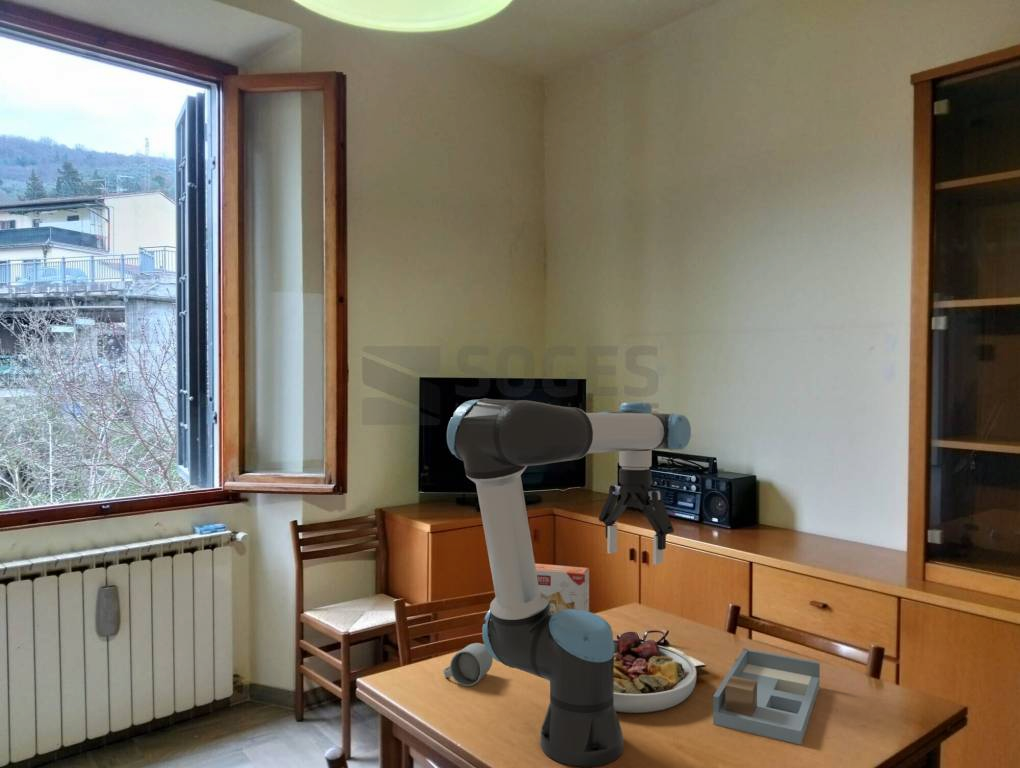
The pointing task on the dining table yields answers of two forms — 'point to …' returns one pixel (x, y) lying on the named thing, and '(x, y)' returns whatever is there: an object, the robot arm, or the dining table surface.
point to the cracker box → (564, 586)
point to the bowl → (649, 675)
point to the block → (741, 696)
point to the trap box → (772, 695)
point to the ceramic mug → (469, 664)
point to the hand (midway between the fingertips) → (634, 557)
